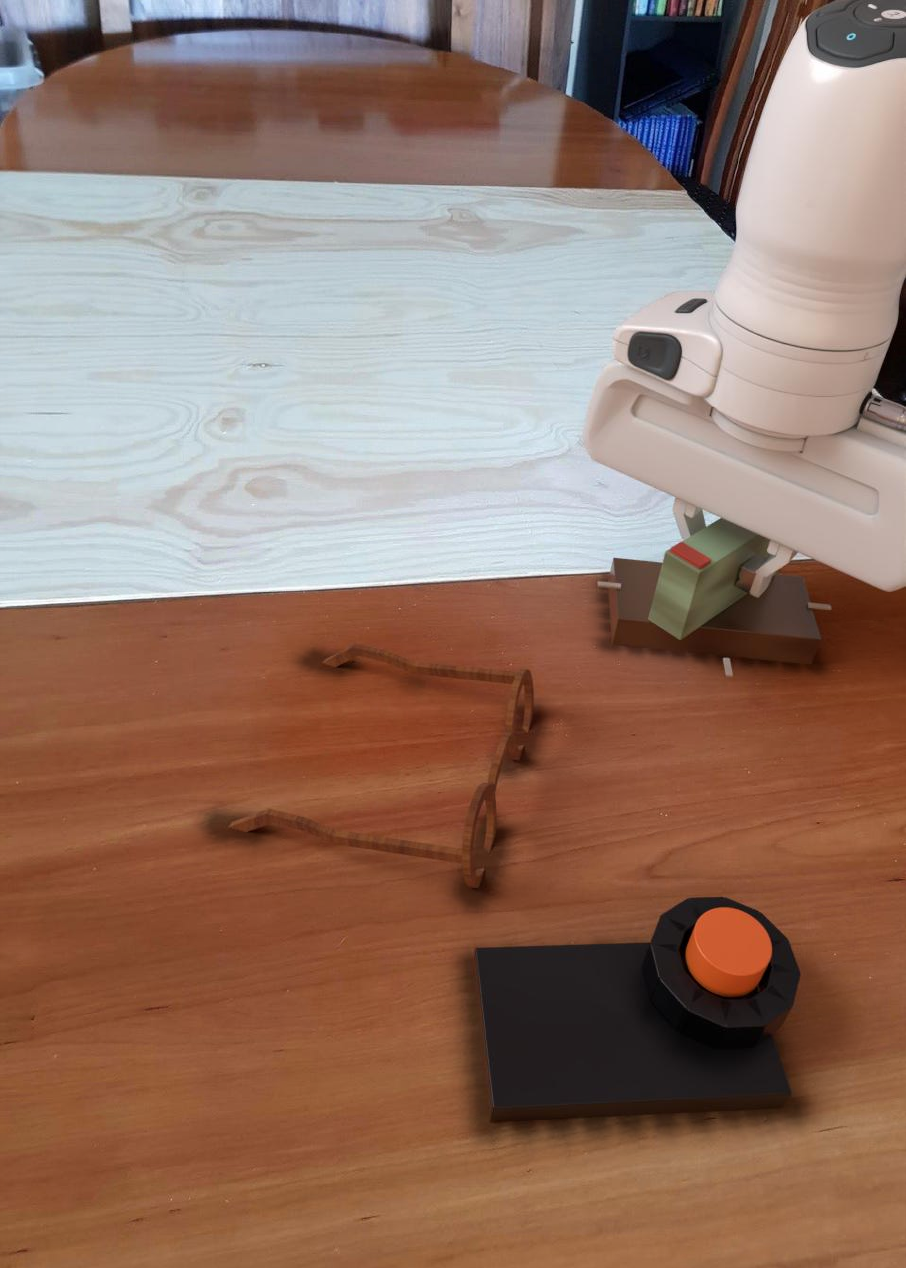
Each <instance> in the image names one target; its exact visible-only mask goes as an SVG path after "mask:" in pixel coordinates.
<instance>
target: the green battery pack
mask: <svg viewBox="0 0 906 1268" xmlns="http://www.w3.org/2000/svg"><path fill="white" fill-rule="evenodd" d="M683 540H684V539H683ZM683 540H682V541H680V542H678V543H676V544H674V545H673V546H671V547H670V548H668V549H667V550H666V551H665V552H664V556H663V559H662V567H661V571H660V575H659V579H658V583H657V586H656V590H655V594H654V598H653V602H652V606H651V610H650V613H649V617H648V620H650V621H651V622H653V623H654V624H656V625H657V626H659V627H661V628H662V629H664V630H665V631H667V632H668V633H670V634H671V635H673V636H674V637H676V638H677V639H679V640H681V639H683V638H684V637H686V636H687V635H689V634H690V633H691V632H693V631H694V630H696V629H697V628H699V627H700V626H702V625H703V624H704V623H706V622H707V621H709V620H710V619H712V618H713V617H715V616H716V615H717V614H719V613H720V612H722V611H723V610H725V609H726V608H728V607H729V606H731V605H732V604H733V603H735V602H736V601H738V600H739V599H741V598H742V597H744V596H745V595H746V594H748V593H747V592H745V591H743V590H741V589H739V588H737V587H735V584H736V581H737V580H738V579H739V576H738V575H739V572H740V569H741V566H742V565H743V564H744V563H745V562H746V561H749V560H750V558H752V557H753V556H755V555H756V554H758V555H760V556H763V557H765V558H767V557H769V556H770V555H772V554H769V553H768V552H767V549H768V546H769V543H770V539H767V538H765V537H763V536H761V535H758V534H756V533H754V532H752V531H749V530H747V529H745V528H743V527H740V526H738V525H736V524H734V523H732V522H729V521H727V520H725V519H723V518H720V517H719V518H718V519H717V520H715V521H713V522H712V523H710V524H708V525H706V527H705V528H704V529H702V530H700V531H699V532H697V533H695V534H694V535H692V536H690V537H689V538H687V539H685V540H684V541H683ZM775 574H778V570H777V571H775V572H774V573H773V575H772V577H773V576H774V575H775Z"/></svg>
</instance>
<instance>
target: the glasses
mask: <svg viewBox="0 0 906 1268" xmlns="http://www.w3.org/2000/svg"><path fill="white" fill-rule="evenodd" d="M357 657H363V658H366V659H371V660H374V661H378V662H382V663H386V664H389V665H391V666H393V667H396V668H398V669H401V670H403V671H406V672H407V673H408V672H409V673H411V674H414V675H419V676H429V677H438V678H448V679H458V680H466V681H467V680H469V681H478V682H488V683H489V682H490V683H497V684H507V685H508V684H509V685H511V688H510V692H509V697H508V702H507V708H506V715H505V723H504V724H505V725H504V727H505V729H504V730H505V731H504V733H503V734H502V735H501V737H500V739H499V742H498V745H497V748H496V750H495V753H494V756H493V760H492V762H491V765H490V768H489V773H488V778H487V782H482V783H480V784H479V785H478V786H477V787H476V788H475V789H476V790H475V792H474V793H473V796H472V799H471V801H470V805H469V807H468V810H467V814H466V819H465V824H464V829H463V838H462V847H461V848H459V847H452V846H447V845H440V844H432V843H425V842H420V841H412V840H405V839H398V838H392V837H385V836H378V835H372V834H365V833H357V832H352V831H346V830H345V831H344V830H338V829H335V828H332V827H331V826H330V827H329V826H327V825H325V824H322V823H320V822H317V821H315V820H313V819H310V818H307V817H305V816H301V815H297V814H294V813H288V812H285V811H282V810H281V811H280V810H276V809H272V808H266V809H265V810H261V811H259V812H256V813H253V814H251V815H248V816H245V817H242V818H239V819H237V820H233V821H231V823H230V824H229V825H228V826H227V828H229V829H233V830H237V831H239V832H245V833H247V832H250V831H253V830H256V829H259V828H262V827H265V826H268V825H271V824H276V825H279V826H282V827H283V826H284V827H287V828H291V829H295V830H298V831H301V832H305V833H308V834H310V835H312V836H315V837H317V838H319V839H322V840H325V841H327V842H330V843H332V844H335V845H338V846H343V847H352V848H357V849H363V850H364V849H365V850H370V851H376V852H377V851H378V852H385V853H390V854H395V855H396V854H397V855H403V856H409V857H416V858H424V859H430V860H437V861H443V862H450V863H455V864H461V865H462V866H461V867H462V875H463V879H464V883H465V885H466V886H467V887H468V888H471V889H473V888H474V889H480V888H479V887H480V884H481V881H482V879H483V875H484V872H485V869H486V867H481V868H478V869H475V863H474V841H475V834H476V828H477V824H478V818H479V815H480V813H481V810H482V806H483V804H484V803H485V810H486V826H485V827H486V829H485V838H484V843H483V848H484V849H485V850H486V852H487V853H488V854H490V853H491V850H492V847H493V844H494V841H495V837H496V834H497V798H496V792H497V790H496V789H497V786H498V781H499V778H500V774H501V772H502V768H503V766H504V763H505V761H506V760H505V759H506V756H507V754H508V757H509V759H510V760H512V761H520V759H521V757H522V753H523V750H524V747H525V744H521V745H518V744H517V735H516V718H517V709H518V703H519V699H520V695H521V691H522V688H523V690H524V714H523V720H522V721H523V722H522V730H523V731H524V732H526V733H527V734H528V733H529V730H530V727H531V725H532V722H533V718H534V701H535V700H534V699H535V696H534V694H535V693H534V691H535V690H534V681H533V675H532V672H531V670H530V669H529V668H519V670H517V671H511V670H510V671H509V670H501V669H491V668H481V667H470V666H460V665H451V664H450V665H449V664H442V663H441V664H439V663H429V662H419V661H414V660H411V659H409V658H406V657H404V656H401V655H398V654H397V653H393V652H391V651H388V650H385V649H381V648H375V647H371V646H367V645H360V644H357V643H354V644H352V645H350V646H348V647H347V648H344V649H343V650H341V651H338V652H337V653H335V654H333V655H331V656H328V657H327V658H325V659H324V660H323V661H322V662H321V664H324V665H327V666H330V667H333V668H337V667H339V666H341V665H343V664H344V663H346V662H348V661H350V660H352V659H353V660H354V659H355V658H357Z"/></svg>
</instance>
